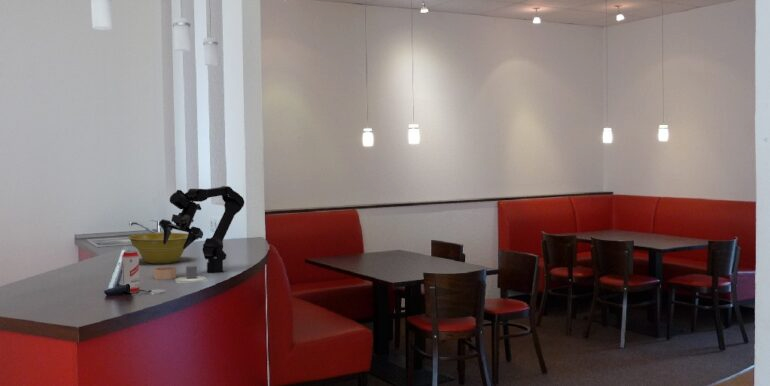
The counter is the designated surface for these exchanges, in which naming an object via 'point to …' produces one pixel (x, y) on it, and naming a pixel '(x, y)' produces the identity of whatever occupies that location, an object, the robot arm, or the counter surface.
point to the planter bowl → (159, 246)
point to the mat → (191, 282)
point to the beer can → (130, 270)
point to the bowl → (164, 273)
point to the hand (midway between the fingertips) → (173, 246)
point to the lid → (191, 275)
